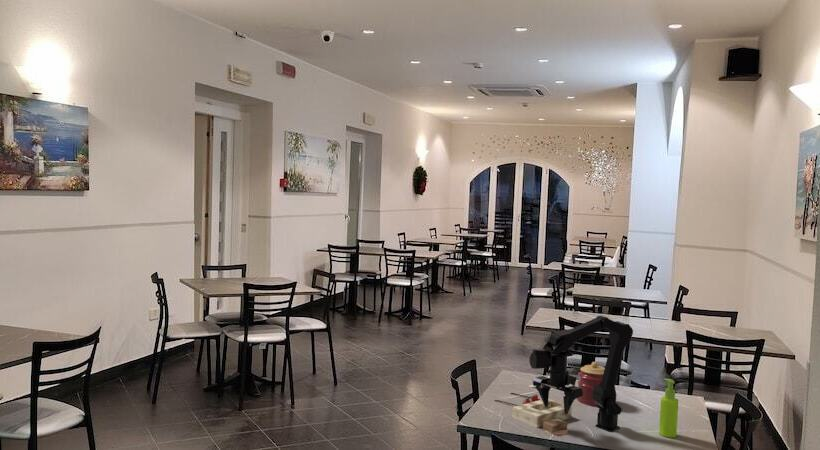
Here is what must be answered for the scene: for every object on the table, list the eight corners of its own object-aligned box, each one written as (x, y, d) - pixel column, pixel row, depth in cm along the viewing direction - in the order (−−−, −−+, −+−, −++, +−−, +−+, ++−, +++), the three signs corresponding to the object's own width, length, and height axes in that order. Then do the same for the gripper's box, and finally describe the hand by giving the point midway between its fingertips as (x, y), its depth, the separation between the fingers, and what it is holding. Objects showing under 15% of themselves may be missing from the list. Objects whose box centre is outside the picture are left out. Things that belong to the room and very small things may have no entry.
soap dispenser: (670, 430, 237) (673, 377, 237) (679, 437, 231) (682, 383, 230) (655, 430, 237) (658, 377, 236) (663, 437, 230) (666, 382, 229)
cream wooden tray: (546, 410, 255) (547, 398, 255) (571, 419, 245) (571, 406, 245) (512, 420, 243) (512, 407, 242) (536, 429, 233) (537, 416, 233)
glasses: (524, 414, 251) (524, 401, 251) (487, 404, 261) (488, 392, 261) (540, 405, 262) (540, 393, 262) (504, 396, 272) (505, 385, 272)
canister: (611, 410, 259) (613, 367, 258) (578, 407, 261) (580, 364, 260) (606, 400, 272) (608, 359, 271) (575, 397, 274) (577, 356, 273)
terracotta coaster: (573, 433, 231) (573, 430, 231) (557, 438, 226) (557, 435, 226) (553, 425, 238) (553, 422, 238) (537, 430, 233) (537, 427, 233)
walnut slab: (557, 425, 236) (557, 418, 236) (566, 428, 232) (567, 422, 232) (542, 429, 231) (542, 422, 231) (552, 433, 228) (552, 426, 227)
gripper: (593, 370, 229) (591, 413, 229) (552, 359, 243) (550, 399, 244) (574, 375, 222) (571, 419, 222) (532, 362, 236) (530, 404, 237)
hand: (556, 410), depth 232 cm, fingers open, 9 cm apart
